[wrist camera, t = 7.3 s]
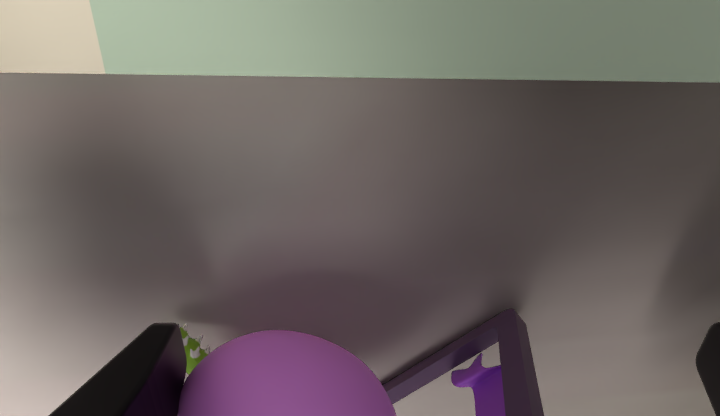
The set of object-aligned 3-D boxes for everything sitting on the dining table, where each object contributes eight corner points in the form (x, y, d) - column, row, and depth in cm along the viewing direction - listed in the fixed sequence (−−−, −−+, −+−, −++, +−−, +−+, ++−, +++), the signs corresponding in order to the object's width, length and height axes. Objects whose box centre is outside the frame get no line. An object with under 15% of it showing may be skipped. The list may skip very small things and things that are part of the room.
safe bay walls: (1080, -45, 8) (1349, -24, 6) (735, 506, 14) (799, 609, 12) (156, -61, 8) (78, -45, 5) (244, 504, 14) (225, 608, 12)
